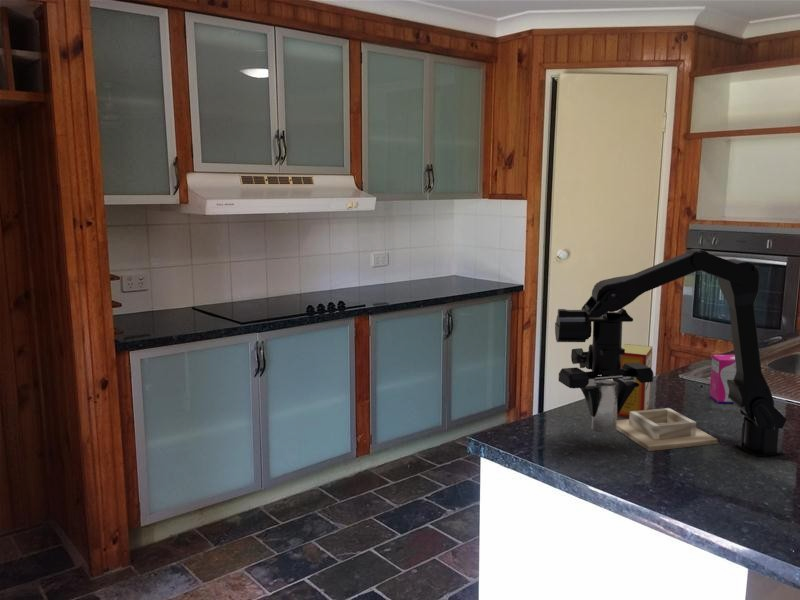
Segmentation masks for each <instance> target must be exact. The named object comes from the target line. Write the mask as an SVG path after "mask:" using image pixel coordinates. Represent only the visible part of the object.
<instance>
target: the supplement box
mask: <svg viewBox="0 0 800 600" xmlns="http://www.w3.org/2000/svg"><path fill="white" fill-rule="evenodd" d="M710 363H711V365H710V367H711V368H710V388H709V389H710V390H709V398H711V399H712V400H713V401H714V402H715V403H717V404H719V405H720V404H721V405H722V404H723V405H724V404H731V405H732V404H733V405H734V403H733V401H732V400H731V399H730V398H729V397H728V395H729V387H728V384H727V380H734V377H735V374H736V362H735V354H711V362H710Z"/></svg>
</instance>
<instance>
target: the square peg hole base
mask: <svg viewBox="0 0 800 600" xmlns="http://www.w3.org/2000/svg"><path fill="white" fill-rule="evenodd" d="M617 431H618V432H620V433H621V434H622V435H624V436H625V437H627V438H629V440H630V439H631V440H632V441H633V442H634V443H635V444H638V445H639V446H640V447H642V448H644V449H646V450H647V452H652V451H653V452H655V451H663V450H664V451H665V450H674V449H681V448H690V447H700V446H711V445H717V444H718V441H719V440H718V438H716V437H714V436H712V435H710V434H708V433H707V432H705V431H702V430H701V429H700V428H697V421H695V420H693V419H690V418H688V416H685V415H684V414H682V413H680V412H678V411H675V410H673V409H672V408H670V407H666V408H665V407H664V408H654V409H653V408H652V409H649V410H641V411H630V415H629V417H628V418H627V419H617Z"/></svg>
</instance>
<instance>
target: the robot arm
mask: <svg viewBox="0 0 800 600" xmlns="http://www.w3.org/2000/svg"><path fill="white" fill-rule="evenodd" d="M699 271H701V272H704V273H706V274H708V275H711V276H713V277H716V279H717V282H718V285H719V288H720V291H721V292H722V295H723V297H724V300H725V301H726V304H727V307H728V310H729V311H728V313H729V320H730V326H731V327H730V328H731V337H732V344H733V352H734V353H733V355H735V362H736V374H735V377H734V380H727V384H728V387H729V395H728V397H729V398H730V399H731V400H732V401H733V403H734V404H733V405H734V406H735V407H736V408H738V409H739V412H740V414H741V415H742V416H743V422H742V427H741V428H742V430H741V442H735V446H736V447H738V448H739V449H741V450H744V451H745V452H747V453H749V454H750V455H753V456H755V457H764V456H765V457H767V456H776V455H783V454H784V450H782V449H780V448H778V445H779V444H778V443H779V431H780V429H781V430H782V429H783V428H784V426H785V423H786V422H787V418H786V417H785V416H784V414H782V413H781V412H780V411H779V410H778V409H777V408H776V407H775V400H774V397H773V395H772V391H771V388H770V386H769V384H768V382H767V380H766V378H765V376H764V374H763V372H762V363H761V355H760V344H759V337H758V336H759V335H758V330H757V329H758V328H757V327H758V326H757V320H756V312H755V309H756V308H755V302H756V300H757V297H758V294H759V293H760V292H759V291H760V281H761V280H760V279H761V277H760V276H761V274H760V270H759V268H758V267H757V266H756V265H754V264H753V263H751V262H747V261H743V260H739V259H735V258H729V259H724V258H722V257H720V256H716V255H714V254H711V253H709V252H708V251H706V250H703V249H700V248H691V249H688V251H686V252H684V253H682V254H679V255H676V256H675V257H672V258H669V259H666V260H665V261H662V262H659V263H658V264H655V265H653V266H650V267H648V268H646V269H643V270H641V271H638V272H636V273H632V274H627V275H621V276H616V277H612V278H607V279H603V280H600V281H598V282H596V283H595V284H594V286H593V288H592V290H591V295H590V297H589V299H587V301H586V302H585V303H584V305H582V307H581V309H566V308H558V309H557V316H556V320H555V323H554V333H555V341H556V343H586V341H587V340H589V339H590V338H591V337H592V344H589V346H588V351H584V349H583V348H572V349H571V354H570V355H571V356H570V358H571V363H572V365H577V364H579V367H565V368H561V369H560V371H559V373H558V382H559V383H561V384H562V385H564V386H566V388H569V389H580V390H581V392H582V394H583V397H584V400H585V402H586V404H587V407H588V410H589V414H590V416H591V417H592V416H593V417H595V414H596V408H597V398H598V388H597V387H596V386H594V383H595V380H612V381H616V382H617V383H618V407H617V414H619V412H620V411H621V409H622V407H623V405H624V404H625V402H626V400H627V398H628V397H629V396H630V394H631V393H632V391H633V390H634V389H635V387H639V384H638V383H636V382H635V379H637V380H638V381H639V382H641V383H645V382H651V383H653V382H654V371H653V369H652V368H650V367H647V366H645V365H643V364H641V363H628V364H624V365H623V366H622V368H621V354H625V349H623V348H622V346H623V345H622V344H623V343H622V339H623V323H624V322H625V323H626V322H627V323H629V322H631V323H632V322H633V321H634V318H633V317H632V316H630V315H629V313H628V312H627V310H626V309H625V308H624V307H626V306H628V305H630V304H631V303H633V302H634V301H635V300H637V298H639V296H641V295H643V294H644V293H647V292H649V291H651V290H654V289H656V288H658V287H662V286H663V285H666V284H670V283H671V282H674V281H676V280H678V279H682V278H683V277H686V276H688V275H690V274H693V273H696V272H699ZM585 368H586V369H587V370H591V371H584V370H582V369H585Z"/></svg>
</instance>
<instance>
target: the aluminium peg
mask: <svg viewBox="0 0 800 600" xmlns="http://www.w3.org/2000/svg"><path fill="white" fill-rule="evenodd" d="M594 386H596V387H597V388H598V398H597V408H596V414H595V417H593V416H591V429H592V430H593V431H595V432H596V433H600V434H614V433H616V432H617V431H618V430H617V420H618V416H617V407H618V383H617V382H616V381H613V379H607V380H595V383H594Z"/></svg>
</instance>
